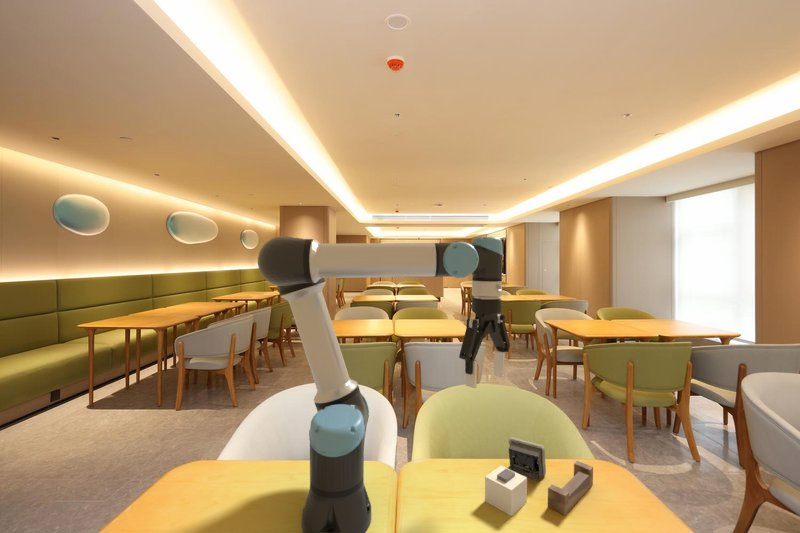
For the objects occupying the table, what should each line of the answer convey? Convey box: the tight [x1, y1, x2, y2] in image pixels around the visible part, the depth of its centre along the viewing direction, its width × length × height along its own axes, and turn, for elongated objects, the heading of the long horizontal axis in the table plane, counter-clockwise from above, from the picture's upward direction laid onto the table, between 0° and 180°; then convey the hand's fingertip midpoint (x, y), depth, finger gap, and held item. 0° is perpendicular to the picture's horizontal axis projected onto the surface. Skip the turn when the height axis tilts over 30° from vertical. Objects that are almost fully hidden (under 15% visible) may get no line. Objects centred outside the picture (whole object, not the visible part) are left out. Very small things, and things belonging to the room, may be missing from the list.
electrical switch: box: [507, 436, 547, 482], centre depth 98 cm, size 9×5×9 cm, turn 57°
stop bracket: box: [547, 460, 594, 516], centre depth 90 cm, size 4×17×4 cm, turn 133°
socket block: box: [484, 465, 528, 517], centre depth 88 cm, size 7×7×7 cm
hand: (485, 380), depth 95 cm, fingers open, 12 cm apart
